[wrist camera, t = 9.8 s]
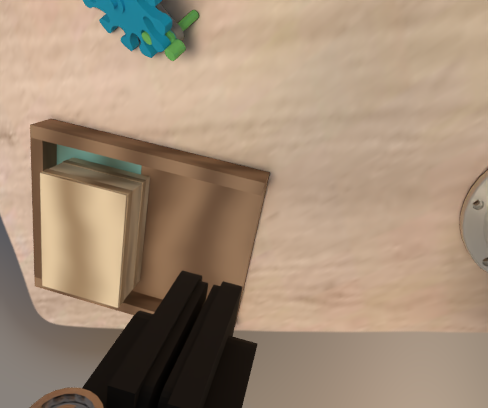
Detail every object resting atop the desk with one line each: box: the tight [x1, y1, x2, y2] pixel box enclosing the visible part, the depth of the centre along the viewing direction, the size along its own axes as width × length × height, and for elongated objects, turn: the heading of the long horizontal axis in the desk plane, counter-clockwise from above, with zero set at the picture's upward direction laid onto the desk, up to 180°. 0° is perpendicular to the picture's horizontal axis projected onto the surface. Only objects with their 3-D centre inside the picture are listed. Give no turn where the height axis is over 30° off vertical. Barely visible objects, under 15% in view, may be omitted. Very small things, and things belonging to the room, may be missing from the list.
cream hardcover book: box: [40, 158, 150, 308], centre depth 40 cm, size 8×12×5 cm
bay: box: [30, 119, 270, 324], centre depth 41 cm, size 22×18×3 cm
